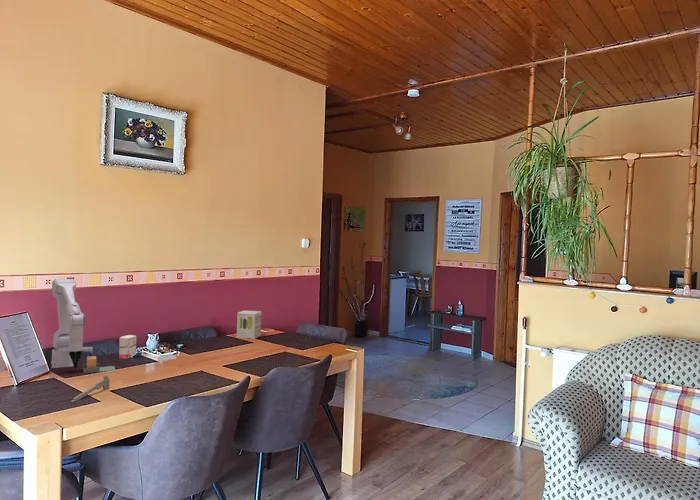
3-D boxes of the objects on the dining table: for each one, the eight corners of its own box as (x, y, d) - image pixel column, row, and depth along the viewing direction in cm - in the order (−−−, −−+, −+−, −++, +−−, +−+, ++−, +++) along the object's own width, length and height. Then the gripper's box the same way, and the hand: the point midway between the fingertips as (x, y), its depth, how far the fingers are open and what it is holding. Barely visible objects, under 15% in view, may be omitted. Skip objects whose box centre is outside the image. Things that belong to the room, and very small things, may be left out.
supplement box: (236, 337, 337) (236, 312, 337) (243, 334, 350) (244, 310, 350) (254, 339, 335) (255, 313, 334) (261, 335, 348) (261, 311, 347)
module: (86, 371, 238) (87, 359, 238) (86, 368, 243) (86, 356, 243) (96, 371, 240) (96, 358, 240) (95, 368, 245) (95, 356, 245)
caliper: (107, 388, 215) (107, 374, 215) (109, 388, 215) (109, 374, 215) (70, 402, 195) (71, 387, 195) (73, 403, 195) (73, 387, 195)
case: (83, 373, 236) (83, 368, 236) (82, 366, 248) (82, 361, 248) (99, 372, 239) (99, 367, 239) (98, 365, 252) (98, 360, 252)
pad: (99, 372, 239) (99, 371, 239) (98, 368, 247) (98, 367, 247) (115, 370, 243) (115, 370, 243) (114, 366, 250) (114, 365, 250)
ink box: (126, 359, 266) (126, 338, 266) (118, 359, 267) (118, 337, 267) (136, 356, 274) (136, 335, 274) (128, 355, 275) (129, 334, 275)
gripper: (58, 341, 231) (57, 370, 231) (93, 339, 238) (92, 367, 238) (58, 339, 237) (57, 367, 237) (92, 337, 244) (91, 364, 244)
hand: (75, 367), depth 238 cm, fingers closed
